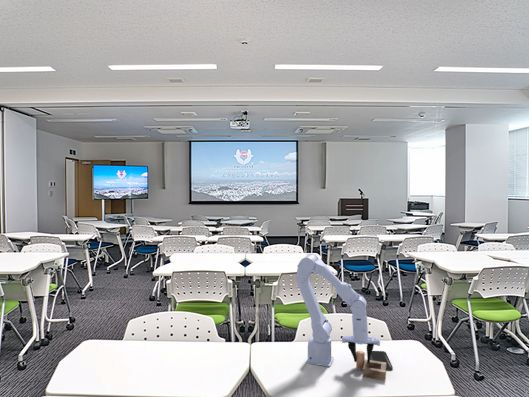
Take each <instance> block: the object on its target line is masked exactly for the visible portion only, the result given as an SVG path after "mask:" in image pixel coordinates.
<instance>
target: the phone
mask: <svg viewBox="0 0 529 397" xmlns="http://www.w3.org/2000/svg"><path fill="white" fill-rule="evenodd" d="M370 360H373V361H379V362H386V371H393V369H394V368H393V364H392V363H391V360H390V359H389V356H388V354H387V352H386V351H383V350H372V353H371V356H370Z"/></svg>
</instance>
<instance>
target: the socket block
mask: <svg viewBox="0 0 529 397" xmlns="http://www.w3.org/2000/svg"><path fill="white" fill-rule="evenodd" d="M362 376H363V377H364V378H369V379H374V380H381V381H386V379H387V378H386V376H387V370H386V362H379V361H373V360H370V362H367V359H366V358H365V363H364V367H363V369H362Z"/></svg>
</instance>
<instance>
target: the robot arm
mask: <svg viewBox="0 0 529 397" xmlns="http://www.w3.org/2000/svg"><path fill="white" fill-rule="evenodd" d="M312 274H313V275H318V276H319V275H321V276H322V277H323V278H324V279H325V280H326V281H327V282H329V284H331V285H332V286H333V287H334V288H335V291H336V292H335V293H336V294H337V295H338V296H339V298H341V299H342V300H343V301H344V302H345V303H346V304H347V305H348V306H349V309H350V312H351V313H352V315H351V319H352V324H351V325H352V335H349V336H346V335H345V336H344V335H343V336H342V338H341V343H343V344H346V343H347V347H348V349H349V350H350V352H351V355H352V357H353V361H354V363H356V352H357V345H366V355H367V359H366V360H367V362H370V356H371V353H372V351H374V346H378V347H379V346H381V339H380V338H375V337H370V336H369V333H368V331H369V330H368V316H367V300H366V298H365V297H364V296H363V295H361V294H360V293H358V292H356V291H355V289H353V288H352V285H351V284H350V283H347V282H342V281H341V280H340V279H339V278H338V276H336V275H335V273H334V272H333V271H332V270H331V269H330V268H329V267H328V266H327V265H326V264H325V262H324V261H323V260H322V259H320V258H319V257H318V255H317V254H314V253H308V254H307V255H305V257H303V258H301V259H300V261H299V263H298V264H297V270H296V276H295V281H296V283H297V286H298V289H299V291H300V294H301V296H302V299H303V301H304V304H305V306H306V309H307V312H308V314H309V317H310V320H311V322H310V324H311V325H310V326H311V329H312V337H309V338H308V343H307V362H306V363H307V364H309V365H310V364H311V365H317V366H323V367H331V366H332V364H333V361H334V358H335V357H334V356H332V337H331V336H330V334H331V332H332V330H333V329H332V328H333V327H332V324H331V322H329V321H328V319H327V317H326V316H325V315H324V314H323V311H322V308H321V306H320V303H319V301H318V298H317V295H316V294H315V290H314V288H313V286H312V283H311V281H310V277H311V275H312Z"/></svg>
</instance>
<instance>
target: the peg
mask: <svg viewBox="0 0 529 397" xmlns="http://www.w3.org/2000/svg"><path fill="white" fill-rule="evenodd" d="M365 356H366V355H365V351H363V350H356V362H355V363H356V369H358V370H363V367H364V363H365V359H366V358H365Z"/></svg>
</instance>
